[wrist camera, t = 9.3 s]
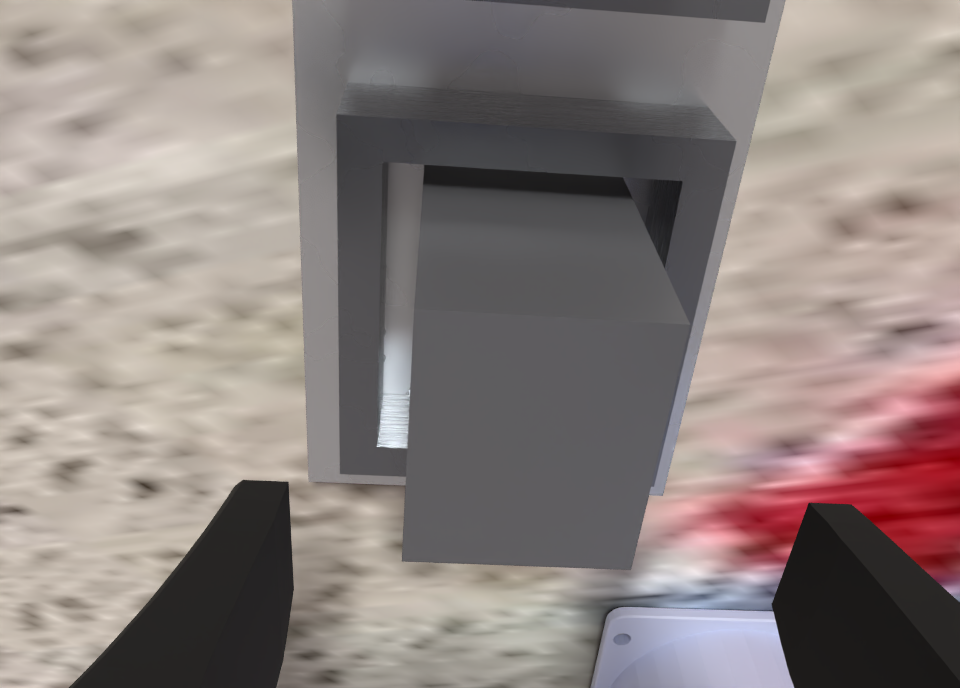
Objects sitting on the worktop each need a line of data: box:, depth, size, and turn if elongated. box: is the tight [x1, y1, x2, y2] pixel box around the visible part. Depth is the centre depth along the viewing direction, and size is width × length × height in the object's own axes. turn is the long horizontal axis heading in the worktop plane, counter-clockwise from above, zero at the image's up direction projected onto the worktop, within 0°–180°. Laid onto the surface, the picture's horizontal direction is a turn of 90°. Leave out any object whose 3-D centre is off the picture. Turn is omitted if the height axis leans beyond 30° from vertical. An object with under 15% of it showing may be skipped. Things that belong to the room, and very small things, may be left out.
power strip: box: [292, 0, 785, 496], centre depth 15 cm, size 20×9×7 cm, turn 176°
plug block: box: [402, 165, 690, 570], centre depth 16 cm, size 5×4×6 cm
